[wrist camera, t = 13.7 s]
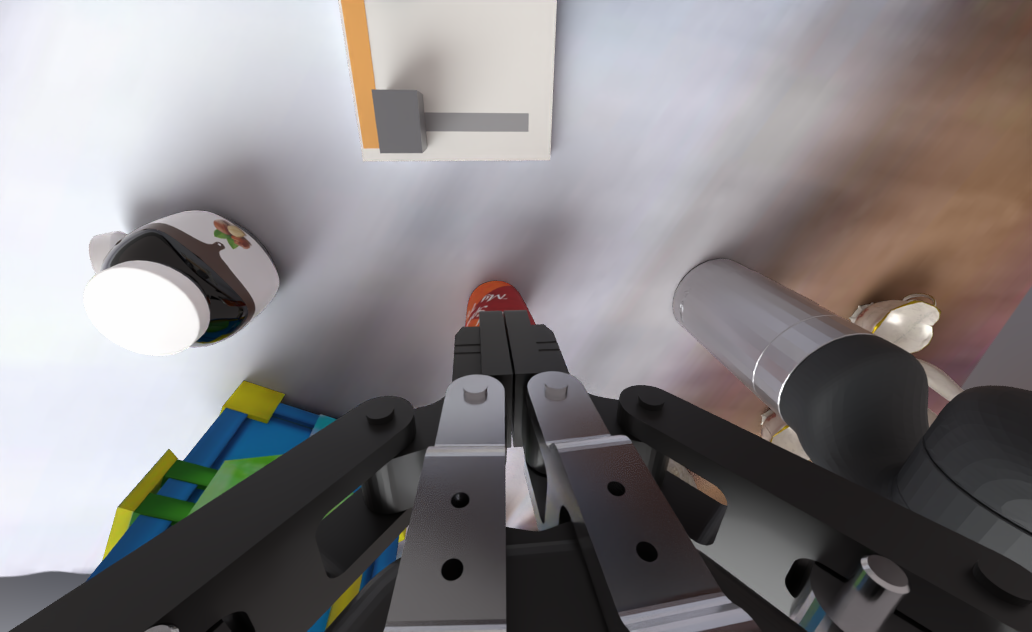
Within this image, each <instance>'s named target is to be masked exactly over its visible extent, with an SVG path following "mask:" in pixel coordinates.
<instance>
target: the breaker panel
mask: <svg viewBox="0 0 1032 632" xmlns="http://www.w3.org/2000/svg"><path fill="white" fill-rule="evenodd" d="M338 3H339V9H340V15H341V22H342V28H343V35H344V41H345V48H346V54H347V61H348V67H349V73H350V80H351V86H352V93H353V99H354V106H355V112H356V118H357V125H358V131H359V138H360V144H361V151H362V157H363V161H523V160H550V151H551V127H552V103H553V79H554V55H555V31H556V8H557V0H338ZM371 89H377V90H417V91H419V92H420V93H422V94H423V102H424V114H425V125H426V137H427V148H428V149H426V150H425V151H424V152H423V153H380V149H379V142H378V134H377V127H376V120H375V112H374V105H373V98H372V90H371Z"/></svg>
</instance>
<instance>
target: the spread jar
mask: <svg viewBox="0 0 1032 632" xmlns="http://www.w3.org/2000/svg"><path fill="white" fill-rule="evenodd" d="M89 256H90V261H91V264H92V267H93V270H94V272H95V275H94V276H93V277H92V278H91V279H90V281H89V282H88V283H87V285H86V288H85V290H84V297H83V299H84V306H85V309H86V312H87V314H88V316H89V318H90V320H91V321H92V323H93V324H94V325H95V326H96V328H97V329H98V330H99V331H100V332H101V333H102V334H103V335H105V336H106V337H107V338H108V339H110V340H111V341H113V342H114V343H116V344H118V345H119V346H122V347H124V348H126V349H128V350H131V351H134V352H137V353H141V354H146V355H152V356H165V355H172V354H176V353H179V352H182V351H183V350H185V349H187V348H189V347H191V348H196V347H206V346H210V345H213V344H216V343H218V342H221V341H223V340H225V339H227V338H229V337H231V336H233V335H234V334H236V333H237V332H239V331H240V330H242V329H243V328H244V327H246V326H247V325H248V324H249V323H250V322H251V321H252V320H254V319H255V318H256V317H257V316H258V315H259V314H260V313H261V312H262V311H263V310H264V309H265V308H266V307H267V305H268V304H269V303H270V302H271V301H272V299H273V298H274V297H275V295H276V293H277V291H278V287H279V276H278V272H277V269H276V266H275V264H274V262H273V260H272V258H271V256H270V255H269V253H268V251H267V250H266V249H265V247H264V246H263V245H262V244H261V242H260V241H259V240H258V239H257V238H256V237H254V236H253V235H252V234H251V233H250V232H248V231H247V230H245V229H244V228H242V227H241V226H239V225H237V224H236V223H234V222H232V221H230V220H228V219H226V218H224V217H222V216H220V215H217V214H214V213H211V212H208V211H200V210H191V211H184V212H180V213H176V214H173V215H170V216H167V217H164V218H161V219H158V220H155V221H153V222H151V223H148V224H146V225H144V226H142V227H139V228H137V229H135V230H134V231H132V232H131V233H129V234H126V233H123V232H120V231H116V232H110V233H105V234H100V235H96V236H94V237H93V238H92V239H91V240H90V244H89Z"/></svg>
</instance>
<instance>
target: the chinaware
mask: <svg viewBox="0 0 1032 632" xmlns="http://www.w3.org/2000/svg"><path fill="white" fill-rule="evenodd" d="M912 297H926V298H929V299H931V300H932V301H933V305H931V304H928V303H925V302H924V301H921V300H909V301H905V300H907V299H909V298H912ZM940 314H941V311H940V310H939V309H938V308H937V307H936V300H935V299H934V298H933V297H932V296H930V295H927V294H921V293H917V294H911V295H908V296H906V297H904V298H903V299H902V300H886V301H881V302H877V303H875V304H873V303H871V304H868V305H863V306H860V305H859V306H858V309H857V310H856V311H855V312H854V314H853V315H852V316H851V317H850V318H849V319H851V321H852V323H854V324H856V325H858V326H860V327H862V328H864V329H866V330H868V331H870V332H872V333H873V334H875V335H877V336H879V337H881V338H883V339H885V340H887V341H889V342H891V343H893V344H895V345H897V346H899V347H901V348H902V349H904V350H906V351H907V352H909V353H910V354H911V353H914V352H918V351H920V350H922V349H923V348H925V347H926V346H927V345H929V343H930V341H931V339H932V338H933V327H932V326H930V325H934V324H935V323H936V322H937V321H938V320H939V319H940ZM916 359H917V358H916ZM917 360H918V361H919V362H920V363H921V365H922V366H923V368H924V370H925V372H926V375H927V379H928V386H929V387H931V388H932V389H933V390H935V391H936V392H937V393H939V394H940V395H941V396H943V397H944V398H946V399H947V400H948V401H951V400H952V399H953V398H954V397H955V396H956V395H958V394H959V393H961V392H963V390H962V389H961V388H960V387H959V386H958V385H957V384H956V383H955V382H954V381H953V380H952V379H951V378H950V377H949V376H948V375H947V374H946V373H944V372H943V371H942V370H941V369H939V368H938V367H936V366H934V365H932V364H930V363H928V362H926V361H923V360H920V359H917ZM761 416H762V423H761V425H762V430H761V434H762V438H763V439H765V440H767V441H769V442H771V443H773V444H775V445H777V446H779V447H781V448H784V449H786V450H788V451H790V452H792V453H794V454H796V455H798V456H800V457H802V458H804V459H806V460H808V461H809V460H811V459H810V458H809V457H808V456H807V454H806V453H805V451H804V450H803V448H802V446H801V444H800V442H799V439H798V436H797V434H796V433H795V432H794V431H793V430H792V429H791V428H790V427H789V426H788V425H787V424H786V423H785V422H784V421H783V420H782V419H781V418H780V417H779V416H778V415H777V414H776V413H775V412H774V411H772V410H769V411H767V412H766V413H765V414H763V415H761ZM936 417H937V415H936V414H935V413H933V412H932V411H931V410H930V409H928V423H929V427H930V426H931V424H932V423H933V422H934V420H935V419H936Z"/></svg>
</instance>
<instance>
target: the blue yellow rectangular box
mask: <svg viewBox="0 0 1032 632" xmlns="http://www.w3.org/2000/svg"><path fill="white" fill-rule="evenodd" d="M284 395H285V394H283V393H280V392H277V391H274V390H271V389H268V388H265V387H262V386H259V385H256V384H253V383H250V382H247V381H243V382H242V383H241V385H240V386H239V387H238V388H237V389H236V391H235V392H234V393H233V394H232V396H231V397H230V398H229V399H228V400H227V402H226V403H225V404H224V405H223V407H222V410H221V412H220V415H219V417H218V418H217V419H216V421H215V422H214V423H213V424H212V426H211V427H210V428H209V429H208V431H207V432H206V433H205V434H204V436H203V437H202V438H201V439H200V440H199V442H198V443H197V444H196V445H195V447H194V448H193V449H192V450H191V452H190V453H189V454H188V455H187V457H186V458H185V459H184V460H183V461H181V460H177V459H178V458H177V457H176V456H175V455H174V454H173V453H172V451H171V450H170V449H168V450H167V451H166V453H165V454H164V455H163V456H162V457H161V458H160V459H159V461H158V462H157V463H156V464H155V465H154V466H153V467H152V469H151V470H150V471H149V472H148V473H147V474H146V475H145V477H144V478H143V479H142V480H141V481H140V482H139V483H138V484H137V486H136V487H135V488H134V489H133V490H132V491H131V492H130V494H129V495H128V496H127V497H126V498H125V499H124V500H123V502H122V503H121V504H120V505H119V506H118V507H117V511H116V514H115V518H114V521H113V525H112V528H111V532H110V535H109V539H108V542H107V546H106V550H105V553H104V557H103V560H102V562H101V563H100V565H99V566H98V567H97V568H96V569H95V571H94V572H93V573H92V574H91V576H90V577H89V578H88V579H87V581H88V580H89V579H91V578H92V577H94V576H95V575H97V574H99V573H100V572H102V571H103V570H105V569H106V568H108V567H109V566H111V565H113V564H114V563H116V562H117V561H119V560H120V559H122V558H123V557H125V556H126V555H128V554H130V553H131V552H133V551H134V550H136V549H137V548H139V547H140V546H142V545H143V544H145V543H147V542H148V541H150V540H151V539H153V538H154V537H156V536H157V535H159V534H160V533H162V532H164V531H165V530H167V529H168V528H170V527H171V526H173V525H174V524H176V523H178V522H179V521H181V520H182V519H184V518H185V517H187V516H188V515H190V514H191V513H193V512H195V511H196V510H198V509H199V508H201V507H202V506H204V505H205V504H207V503H208V502H210V501H212V500H213V499H215V498H216V497H218V496H219V495H221V494H222V493H224V492H226V491H227V490H229V489H230V488H232V487H233V486H235V485H236V484H238V483H239V482H241V481H243V480H244V479H246V478H247V477H249V476H250V475H252V474H253V473H255V472H256V471H258V470H260V469H261V468H263V467H264V466H266V465H267V464H269V463H270V462H272V461H273V460H275V459H277V458H278V457H280V456H281V455H283V454H284V453H286V452H287V451H289V450H291V449H292V448H294V447H295V446H297V445H298V444H300V443H301V442H303V441H304V440H306V439H308V438H309V437H311V436H312V435H314V434H315V433H317V432H318V431H320V430H321V429H323V428H325V427H326V426H328V425H329V424H331V423H332V422H334V421H335V420H337V419H334V418H331V417H328V416H325V415H322V414H320V415H317V414H314V413H311V412H307V411H304V410H301V409H298V408H295V407H292V406H289V405H286V404H283V403H281V401H282V399H283V397H284ZM359 488H361V486H359V487H358V488H357V489H356V490H355V491H353V492H352V493H351V494H350V495H349V496H347V497H346V498H345V499H344V500H343V501H341V502H340V503H339V504H338V505H337V506H335V507H334V508H333V509H332V510H331V511H329V512H328V513H327V514H326V515H325V517H326V516H327V515H328V514H330V513H331V512H332V511H333V510H334V509H336V508H337V507H338V506H339V505H340V504H342V503H343V502H344V501H345V500H346V499H347V498H349V497H350V496H351V495H352V494H353V493H355V492H356V491H357V490H358V489H359ZM325 517H324V518H325ZM324 518H323V519H324ZM405 534H406V529H405V530H404V531H403V532H402V533H401V534H400V535H399V536H398V537H397V538H396V539H395V540H394V541H393V542H392V543H391V544H390V545H389V546H388V547H387V548H386V549H385V551H384V552H383V553H382V554H381V555H380V556H379V557H378V558H377V559H376V560H375V561H374V562H373V563H372V564H371V565H370V566H369V567H368V568H367V569H366V570H365V571H364V572H363V573H362V575H361V576H360V577H359V578H358V579H357V580H356V581H355V582H354V583H353V584H352V585H351V586H350V587H349V588H348V589H347V590H346V591H345V592H344V593H343V594H342V595H341V596H340V597H339V599H338V600H337V601H336V602H335V603H334V604H333V605H332V606H331V607H330V608H329V609H328V610H327V611H326V612H325V613H324V614H323V615H322V616H321V617H320V618H319V619H318V620H317V621H316V623H315V624H314V625H313V626H312V627H311V628H310V629H309V630H308V631H307V632H324V631H325V630H326V629H327V628H328V627H329V625H330V624H331V623H332V622H333V621H334V620H335V619H336V618H337V616H338V615H339V614H340V613H341V612H342V611H343V610H344V608H345V607H346V606H347V605H348V604H349V603H350V602H351V601H352V599H353V598H354V597H355V596H356V595H357V594H358V593H359V591H360V590H361V589H362V588H363V587H364V586H365V585H366V584H367V583H368V582H369V581H370V580H371V579H372V578H373V577H375V576H376V575H377V574H378V573H379V572H380V571H382V570H383V569H384V568H385V567H387V566H388V565H389V564H391V563H392V562H394V561H396V555H397V548H398V542H400V541H402V540H404V539H405Z"/></svg>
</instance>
